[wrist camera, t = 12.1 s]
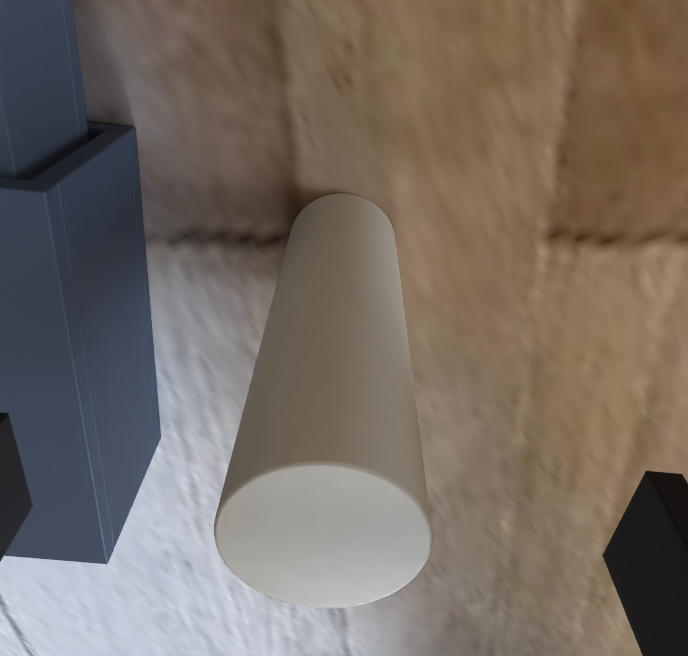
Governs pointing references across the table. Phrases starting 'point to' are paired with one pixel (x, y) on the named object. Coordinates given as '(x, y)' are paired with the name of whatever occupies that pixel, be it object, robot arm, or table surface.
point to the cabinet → (78, 345)
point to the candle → (330, 424)
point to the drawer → (39, 87)
